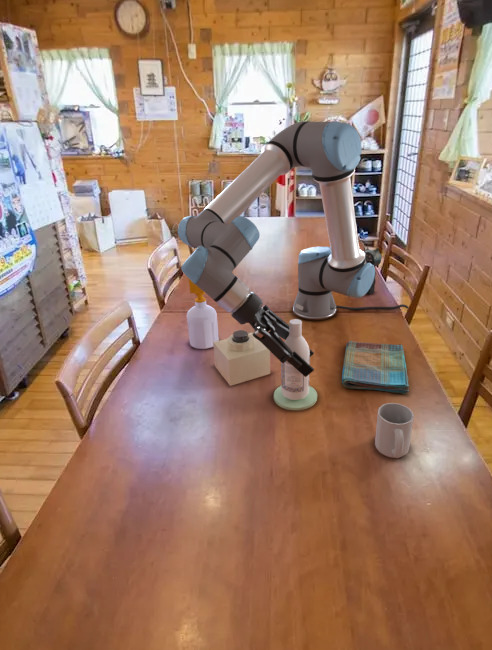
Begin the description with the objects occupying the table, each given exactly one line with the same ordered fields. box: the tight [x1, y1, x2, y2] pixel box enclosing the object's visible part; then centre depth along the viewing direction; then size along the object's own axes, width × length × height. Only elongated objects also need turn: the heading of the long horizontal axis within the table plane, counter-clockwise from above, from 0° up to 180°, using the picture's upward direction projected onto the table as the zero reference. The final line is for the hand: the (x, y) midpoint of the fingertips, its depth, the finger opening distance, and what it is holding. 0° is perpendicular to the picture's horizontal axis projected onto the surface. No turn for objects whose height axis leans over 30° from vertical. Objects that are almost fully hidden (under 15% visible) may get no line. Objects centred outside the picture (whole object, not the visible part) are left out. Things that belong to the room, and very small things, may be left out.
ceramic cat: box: [358, 239, 382, 295], centre depth 176 cm, size 20×6×20 cm, turn 46°
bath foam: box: [280, 318, 311, 400], centre depth 110 cm, size 7×7×20 cm
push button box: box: [213, 331, 271, 387], centre depth 125 cm, size 12×11×10 cm
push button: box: [232, 329, 249, 343], centre depth 122 cm, size 4×4×2 cm
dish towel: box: [341, 340, 410, 395], centre depth 126 cm, size 17×23×2 cm
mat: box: [273, 385, 318, 412], centre depth 115 cm, size 11×11×1 cm
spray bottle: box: [186, 278, 220, 350], centre depth 136 cm, size 9×9×25 cm
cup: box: [374, 402, 415, 459], centre depth 95 cm, size 7×10×9 cm
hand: (309, 364), depth 110 cm, fingers closed on bath foam, 7 cm apart
